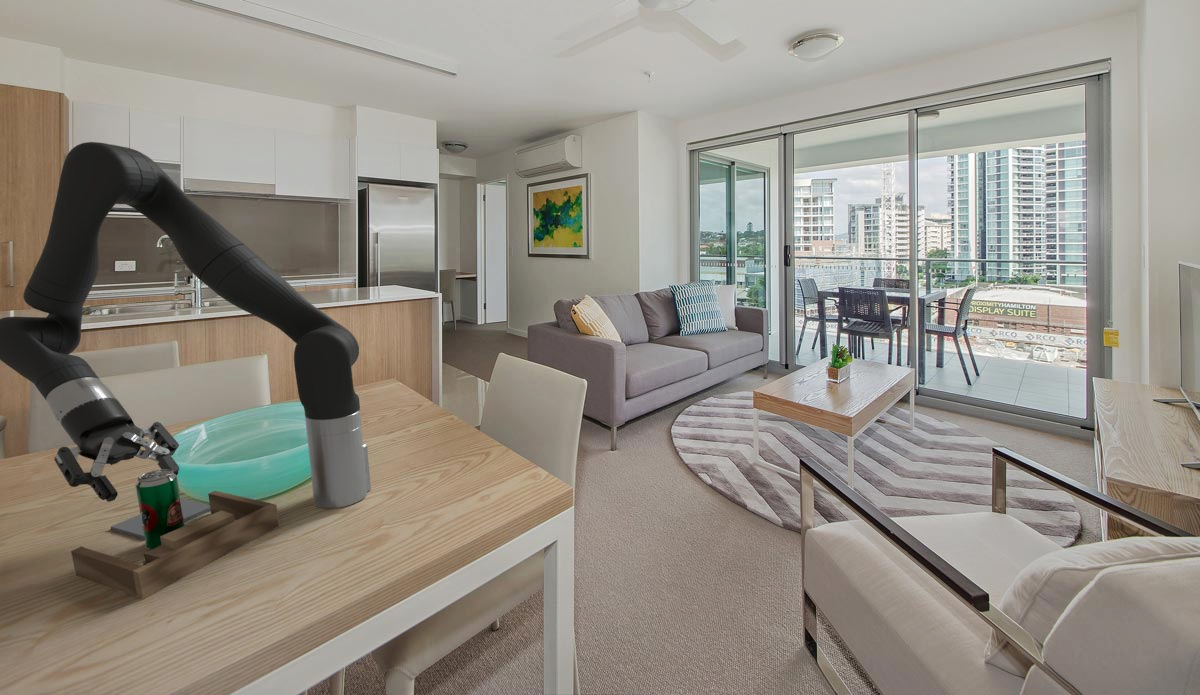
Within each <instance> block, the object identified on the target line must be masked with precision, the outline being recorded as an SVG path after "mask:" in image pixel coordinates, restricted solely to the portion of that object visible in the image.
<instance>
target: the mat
mask: <svg viewBox="0 0 1200 695" xmlns="http://www.w3.org/2000/svg"><path fill="white" fill-rule="evenodd" d="M180 499H181V505H182V512H183V518H184V523H186V522H188V521H190V520H193V519H194V518H196V517H199V516H201V515H204V514H205V513H207V512H208V513H209V512H211V509H210V504H208V503H204V502H199V501H195V500H190V499H186V498H182V497H180ZM110 530H111V531H114V532H118V533H121V534H123V535H124V534H125V535H128V536H131V537H134V538H135V537H136V538H138V539H142V540H145V538H144V532H143V526H142V520H141V515H140V514H138V515H135V516H133V517H130V518H129V519H126V520H123V521H121V522H120V521H119V522H118V523H116V524H113V525H111V526H110Z"/></svg>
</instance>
